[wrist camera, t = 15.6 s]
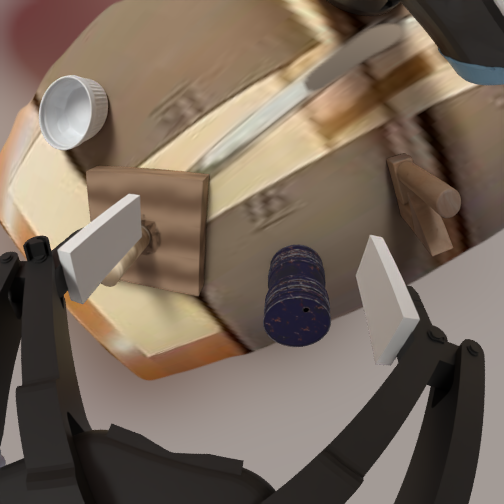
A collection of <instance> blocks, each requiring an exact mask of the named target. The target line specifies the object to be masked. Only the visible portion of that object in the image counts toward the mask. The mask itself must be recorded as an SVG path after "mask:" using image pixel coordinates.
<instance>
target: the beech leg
mask: <svg viewBox="0 0 504 504" xmlns="http://www.w3.org/2000/svg"><path fill="white" fill-rule="evenodd" d="M141 230H142V237H141V238H140V239H139V241H138V242H137V243H136V244H135V245H134V246H133V247H132V248H131V249H130V250H129V251H128V253H127V254H126V255H125V256H124V257H123V258H122V259H121V260H120V261H119V263H118V264H117V265H116V266H115V267H114V268H113V269H112V270H111V272H110V273H109V274H108V275H107V276H106V277H105V279H104V280H103V281H102V282H101V284H103V285H105V286H109V287H111V286H114V285H116V283H117V282H118V281H119V280H120V278H121V277H122V276H123V275H124V274H125V272H126V271H127V270H128V269H129V267H130V266H131V265H132V264H133V263H134V261H135V260H136V259H137V258H138V257H139V255H140V254H141V253H142V252H143V251H144V249H145V248H147V247H148V246H149V244H150V243H151V239H152V236H151V232H150V230H149V229H148V228H147V227H146V226H145V225H143V224H141Z"/></svg>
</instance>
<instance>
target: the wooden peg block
mask: <svg viewBox="0 0 504 504" xmlns="http://www.w3.org/2000/svg"><path fill="white" fill-rule="evenodd" d="M386 161H387V164H388V168H389V171H390V175H391V178H392V182H393V186H394V190H395V194H396V197H397V202H398V206H399V210H400V215H401V217H402V218H403V219H404V220H405V222H406V223H407V224H408V225H409V226H410V228H411V229H412V230H413V231H414V233H415V235H416V236H417V237H418V238H419V240H420V241H421V242H422V243H423V245H424V246H425V247H426V249H427V250H428V251H429V253H430V254H431V255H432V256H435V255H438V254H441V253H443V252H446V251H448V250H451V249H453V246H452V243H451V240H450V238H449V235H448V233H447V230H446V228H445V225H444V223H443V220H442V218H441V217H443V218H451V217H453V216H455V215H456V214H457V213H458V211H459V209H460V206H461V198H460V194H459V193H458V191H456V190H455V189H454V188H452V187H451V186H449V185H448V184H446V183H445V182H443V181H442V180H440V179H438V178H437V177H435V176H434V175H432V174H430V173H429V172H427V171H426V170H424V169H422V168H421V167H419V166H417V165H416V164H414V163H413V159H412V157H411V156H409V155H407V154H405V153H403V154H400V155H396V156H393V157H390V158H387V160H386Z"/></svg>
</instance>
